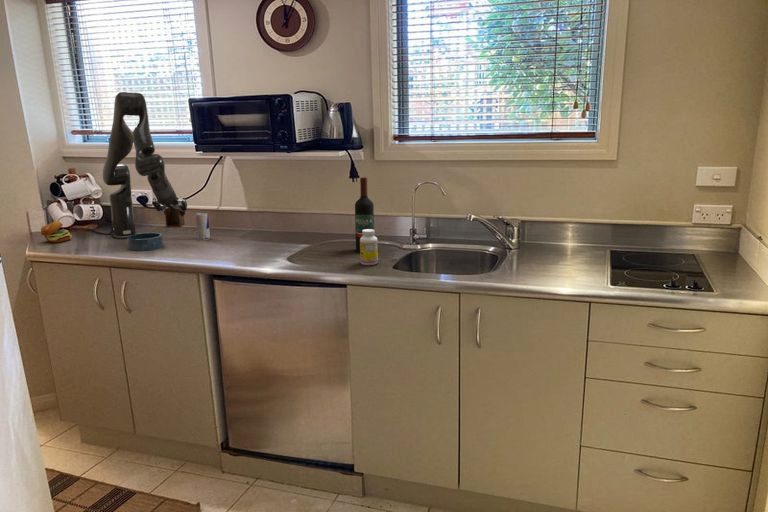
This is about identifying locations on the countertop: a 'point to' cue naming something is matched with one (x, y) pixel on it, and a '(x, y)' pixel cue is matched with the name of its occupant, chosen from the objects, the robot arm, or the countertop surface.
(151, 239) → the bowl
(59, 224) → the cheeseburger
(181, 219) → the brown block
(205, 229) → the energy drink
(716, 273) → the countertop surface
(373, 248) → the supplement bottle
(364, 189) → the wine bottle
